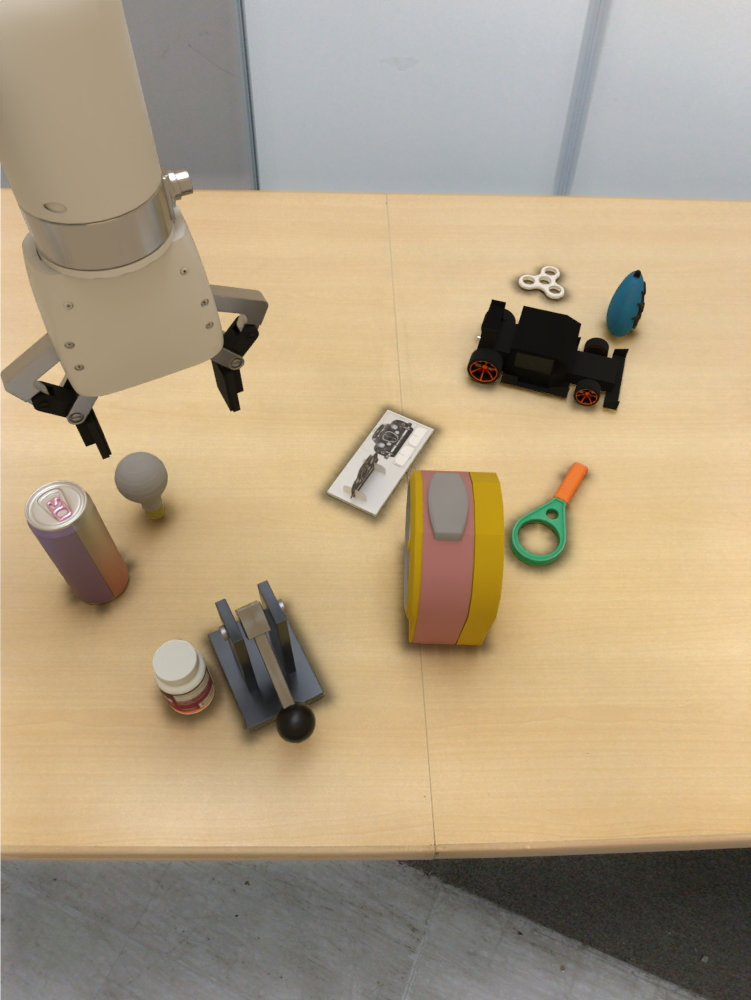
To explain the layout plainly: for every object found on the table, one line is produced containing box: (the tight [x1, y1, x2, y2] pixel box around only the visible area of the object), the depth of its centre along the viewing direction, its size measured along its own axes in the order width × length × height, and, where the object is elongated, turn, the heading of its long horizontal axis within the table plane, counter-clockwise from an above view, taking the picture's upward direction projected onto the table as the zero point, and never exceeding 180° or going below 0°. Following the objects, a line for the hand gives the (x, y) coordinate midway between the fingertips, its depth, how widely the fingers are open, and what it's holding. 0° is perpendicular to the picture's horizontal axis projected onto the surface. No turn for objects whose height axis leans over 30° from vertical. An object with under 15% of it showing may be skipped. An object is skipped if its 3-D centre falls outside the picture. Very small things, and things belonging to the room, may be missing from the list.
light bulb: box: [114, 451, 169, 520], centre depth 82 cm, size 6×6×10 cm
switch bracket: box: [207, 579, 325, 734], centre depth 70 cm, size 11×8×13 cm
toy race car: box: [466, 298, 630, 411], centre depth 97 cm, size 10×20×7 cm, turn 72°
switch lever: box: [234, 599, 317, 744], centre depth 66 cm, size 13×4×4 cm
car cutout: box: [326, 409, 435, 518], centre depth 89 cm, size 15×7×4 cm, turn 151°
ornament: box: [605, 269, 647, 338], centre depth 101 cm, size 8×5×10 cm, turn 160°
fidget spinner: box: [518, 265, 565, 300], centre depth 110 cm, size 7×6×1 cm
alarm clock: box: [403, 469, 505, 646], centre depth 73 cm, size 15×8×18 cm, turn 178°
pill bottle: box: [151, 638, 216, 715], centre depth 70 cm, size 5×5×8 cm
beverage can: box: [24, 479, 130, 605], centre depth 74 cm, size 6×6×15 cm
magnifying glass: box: [509, 461, 589, 567], centre depth 86 cm, size 15×6×2 cm, turn 148°
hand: (167, 421), depth 54 cm, fingers open, 9 cm apart
